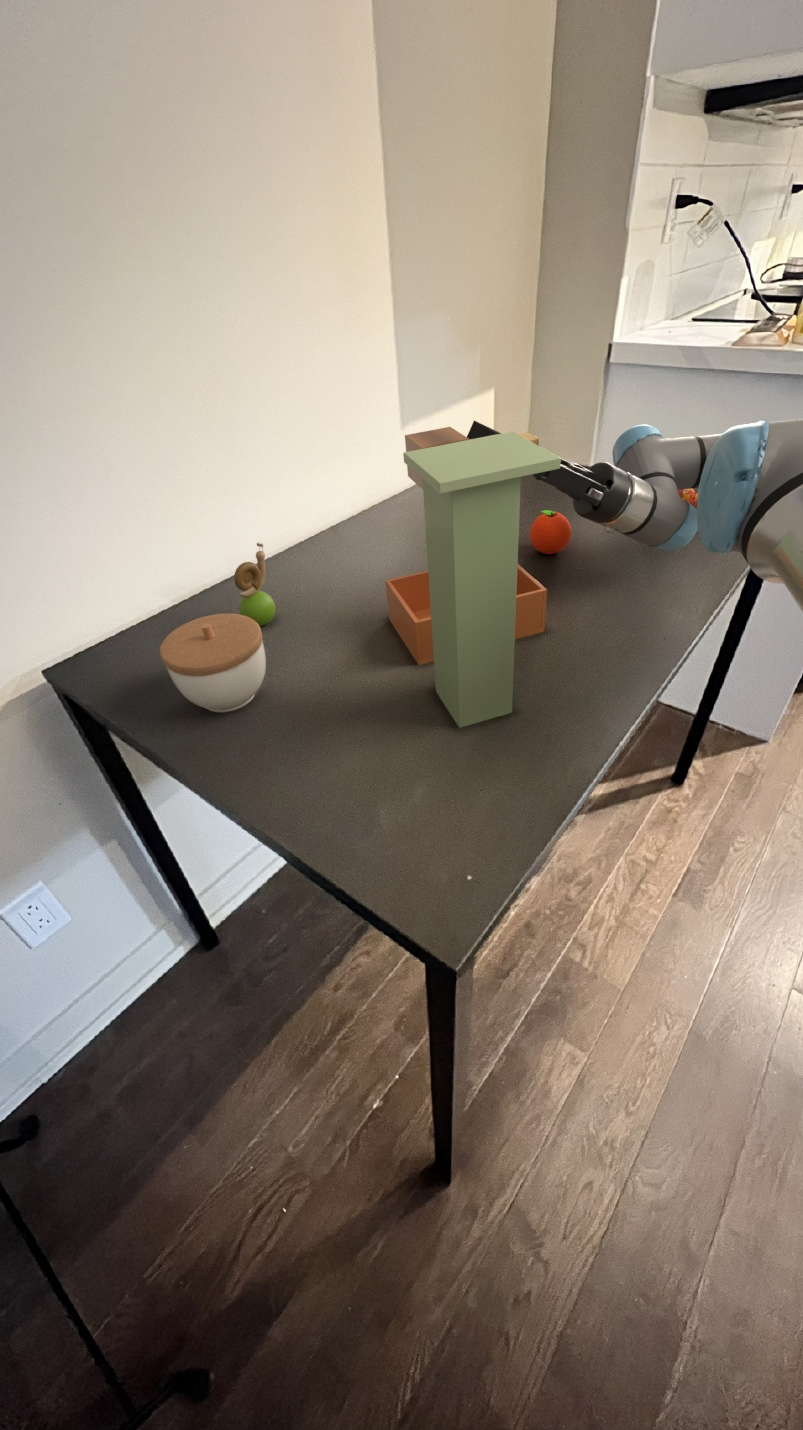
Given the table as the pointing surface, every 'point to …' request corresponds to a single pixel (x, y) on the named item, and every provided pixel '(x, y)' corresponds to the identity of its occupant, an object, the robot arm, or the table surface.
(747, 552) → the robot arm
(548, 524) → the clementine
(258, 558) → the snail figurine
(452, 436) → the mallet
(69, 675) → the table surface
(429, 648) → the open box
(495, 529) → the shelf stand
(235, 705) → the lidded bowl
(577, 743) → the table surface
